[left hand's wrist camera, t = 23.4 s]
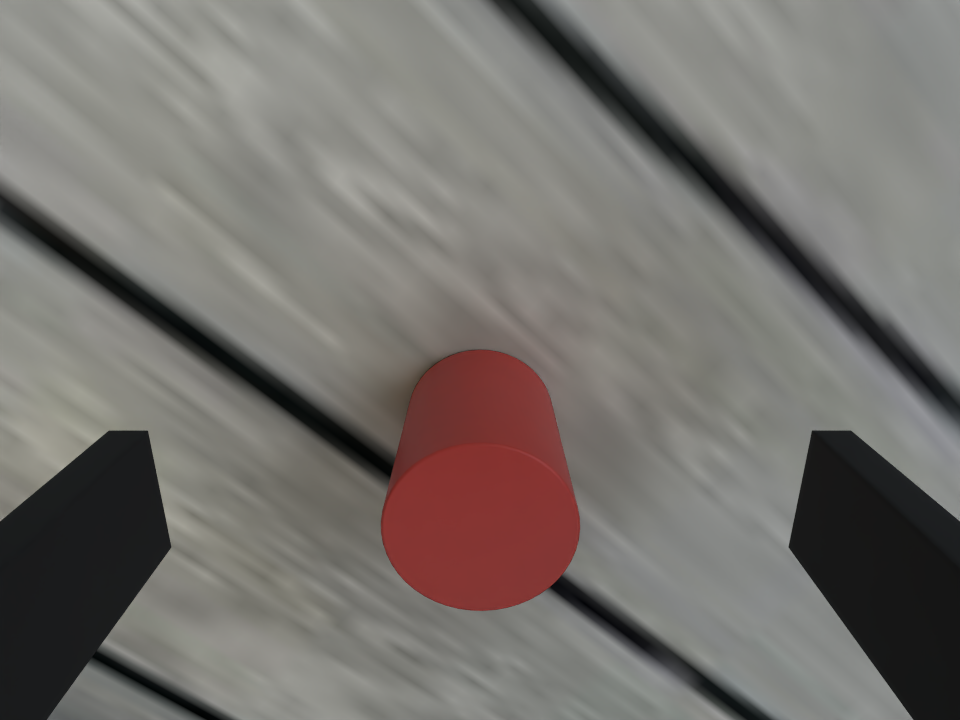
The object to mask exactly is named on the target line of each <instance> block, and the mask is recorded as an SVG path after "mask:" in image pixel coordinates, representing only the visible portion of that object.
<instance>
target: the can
mask: <svg viewBox="0 0 960 720" xmlns="http://www.w3.org/2000/svg"><path fill="white" fill-rule="evenodd" d="M579 533H580V517H579V512H578V507H577V503H576V499H575V495H574V491H573V487H572V483H571V479H570V475H569V471H568V467H567V463H566V459H565V455H564V451H563V447H562V443H561V439H560V435H559V431H558V427H557V423H556V419H555V415H554V411H553V407H552V403H551V399H550V396H549V393H548V391H547V389H546V387H545V385H544V383H543V382H542V380H541V379H540V378H539V376H538V375H537V374H536V373H535V372H534V371H533V370H532V369H531V368H530V367H528V366H527V365H526V364H525V363H523V362H521V361H520V360H518V359H516V358H514V357H512V356H510V355H507V354H504V353H500V352H496V351H490V350H471V351H465V352H460V353H457V354H454V355H451V356H449V357H447V358H445V359H443V360H441V361H440V362H438V363H437V364H435V365H434V366H432V367H431V368H430V369H429V370H428V371H427V372H426V373H425V374H424V375H423V376H422V378H421V379H420V380H419V382H418V383H417V385H416V387H415V389H414V391H413V393H412V396H411V399H410V403H409V407H408V411H407V415H406V419H405V423H404V427H403V431H402V435H401V439H400V443H399V447H398V451H397V455H396V459H395V463H394V467H393V471H392V475H391V479H390V483H389V487H388V491H387V495H386V499H385V503H384V506H383V510H382V518H381V535H382V540H383V545H384V548H385V551H386V554H387V556H388V558H389V560H390V562H391V564H392V565H393V567H394V568H395V570H396V571H397V573H398V574H399V575H400V576H401V577H402V578H403V580H404V581H405V582H406V583H407V584H409V585H410V586H411V587H412V588H413V589H415V590H416V591H417V592H419V593H421V594H422V595H424V596H425V597H427V598H429V599H431V600H433V601H435V602H438V603H441V604H443V605H446V606H450V607H454V608H458V609H465V610H476V611H486V610H497V609H502V608H508V607H511V606H515V605H518V604H521V603H523V602H525V601H528V600H530V599H532V598H534V597H535V596H537V595H539V594H541V593H542V592H543V591H545V590H546V589H548V588H549V587H550V586H551V585H552V584H553V583H554V582H556V581H557V580H558V579H559V577H560V576H561V575H562V574H563V573H564V571H565V570H566V568H567V567H568V565H569V564H570V562H571V560H572V558H573V556H574V553H575V551H576V548H577V544H578V541H579Z"/></svg>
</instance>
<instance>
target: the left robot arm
mask: <svg viewBox="0 0 960 720" xmlns="http://www.w3.org/2000/svg"><path fill="white" fill-rule="evenodd" d="M170 548H171V543H170V538H169V533H168V528H167V523H166V518H165V513H164V508H163V503H162V498H161V493H160V488H159V483H158V478H157V474H156V469H155V464H154V459H153V454H152V449H151V444H150V439H149V434H148V431H108V432H107V433H106V434H104V435H103V436H102V437H101V438H100V439H99V440H97V441H96V442H95V443H94V444H93V445H91V446H90V447H89V448H88V449H87V450H85V451H84V452H83V453H82V454H81V455H79V456H78V457H77V458H76V459H75V460H73V461H72V462H71V463H70V464H69V465H67V466H66V467H65V468H64V469H63V470H61V471H60V472H59V473H58V474H57V475H55V476H54V477H53V478H52V479H51V480H49V481H48V482H47V483H46V484H45V485H43V486H42V487H41V488H40V489H39V490H37V491H36V492H35V493H34V494H33V495H31V496H30V497H29V498H28V499H27V500H25V501H24V502H23V503H22V504H21V505H19V506H18V507H17V508H16V509H15V510H13V511H12V512H11V513H10V514H9V515H7V516H6V517H5V518H4V519H3V520H1V521H0V720H47V718H48V717H49V716H50V714H51V713H52V711H53V710H54V709H55V707H56V706H57V704H58V703H59V702H60V700H61V699H62V698H63V696H64V695H65V693H66V692H67V691H68V689H69V688H70V687H71V685H72V684H73V682H74V681H75V680H76V678H77V677H78V675H79V674H80V673H81V671H82V670H83V669H84V667H85V666H86V664H87V663H88V662H89V660H90V659H91V658H92V656H93V655H94V653H95V652H96V651H97V649H98V648H99V646H100V645H101V644H102V642H103V641H104V640H105V638H106V637H107V635H108V634H109V633H110V631H111V630H112V629H113V627H114V626H115V624H116V623H117V622H118V620H119V619H120V617H121V616H122V615H123V613H124V612H125V611H126V609H127V608H128V606H129V605H130V604H131V602H132V601H133V600H134V598H135V597H136V595H137V594H138V593H139V591H140V590H141V588H142V587H143V586H144V584H145V583H146V582H147V580H148V579H149V577H150V576H151V575H152V573H153V572H154V571H155V569H156V568H157V566H158V565H159V564H160V562H161V561H162V559H163V558H164V557H165V555H166V554H167V553H168V551H169V550H170ZM789 548H790V550H791V551H792V553H793V554H794V555H795V557H796V558H797V559H798V561H799V562H800V564H801V565H802V566H803V568H804V569H805V571H806V572H807V573H808V575H809V576H810V577H811V579H812V580H813V582H814V583H815V584H816V586H817V587H818V588H819V590H820V591H821V593H822V594H823V595H824V597H825V598H826V600H827V601H828V602H829V604H830V605H831V606H832V608H833V609H834V611H835V612H836V613H837V615H838V616H839V617H840V619H841V620H842V622H843V623H844V624H845V626H846V627H847V629H848V630H849V631H850V633H851V634H852V635H853V637H854V638H855V640H856V641H857V642H858V644H859V645H860V646H861V648H862V649H863V651H864V652H865V653H866V655H867V656H868V658H869V659H870V660H871V662H872V663H873V664H874V666H875V667H876V669H877V670H878V671H879V673H880V674H881V675H882V677H883V678H884V680H885V681H886V682H887V684H888V685H889V687H890V688H891V689H892V691H893V692H894V693H895V695H896V696H897V698H898V699H899V700H900V702H901V703H902V704H903V706H904V707H905V709H906V710H907V711H908V713H909V714H910V716H911V717H912V718H913V720H960V521H959V520H957V519H956V518H955V517H954V516H953V515H951V514H950V513H949V512H948V511H947V510H945V509H944V508H943V507H942V506H941V505H939V504H938V503H937V502H936V501H935V500H933V499H932V498H931V497H930V496H929V495H927V494H926V493H925V492H924V491H923V490H921V489H920V488H919V487H918V486H917V485H915V484H914V483H913V482H912V481H911V480H909V479H908V478H907V477H906V476H905V475H903V474H902V473H901V472H900V471H899V470H897V469H896V468H895V467H894V466H893V465H891V464H890V463H889V462H888V461H887V460H885V459H884V458H883V457H882V456H881V455H879V454H878V453H877V452H876V451H875V450H873V449H872V448H871V447H870V446H869V445H867V444H866V443H865V442H864V441H863V440H861V439H860V438H859V437H858V436H857V435H856V434H854V433H853V432H852V431H812V434H811V439H810V444H809V449H808V454H807V459H806V464H805V469H804V474H803V478H802V483H801V488H800V493H799V498H798V503H797V508H796V513H795V518H794V523H793V528H792V533H791V538H790V543H789Z"/></svg>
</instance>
